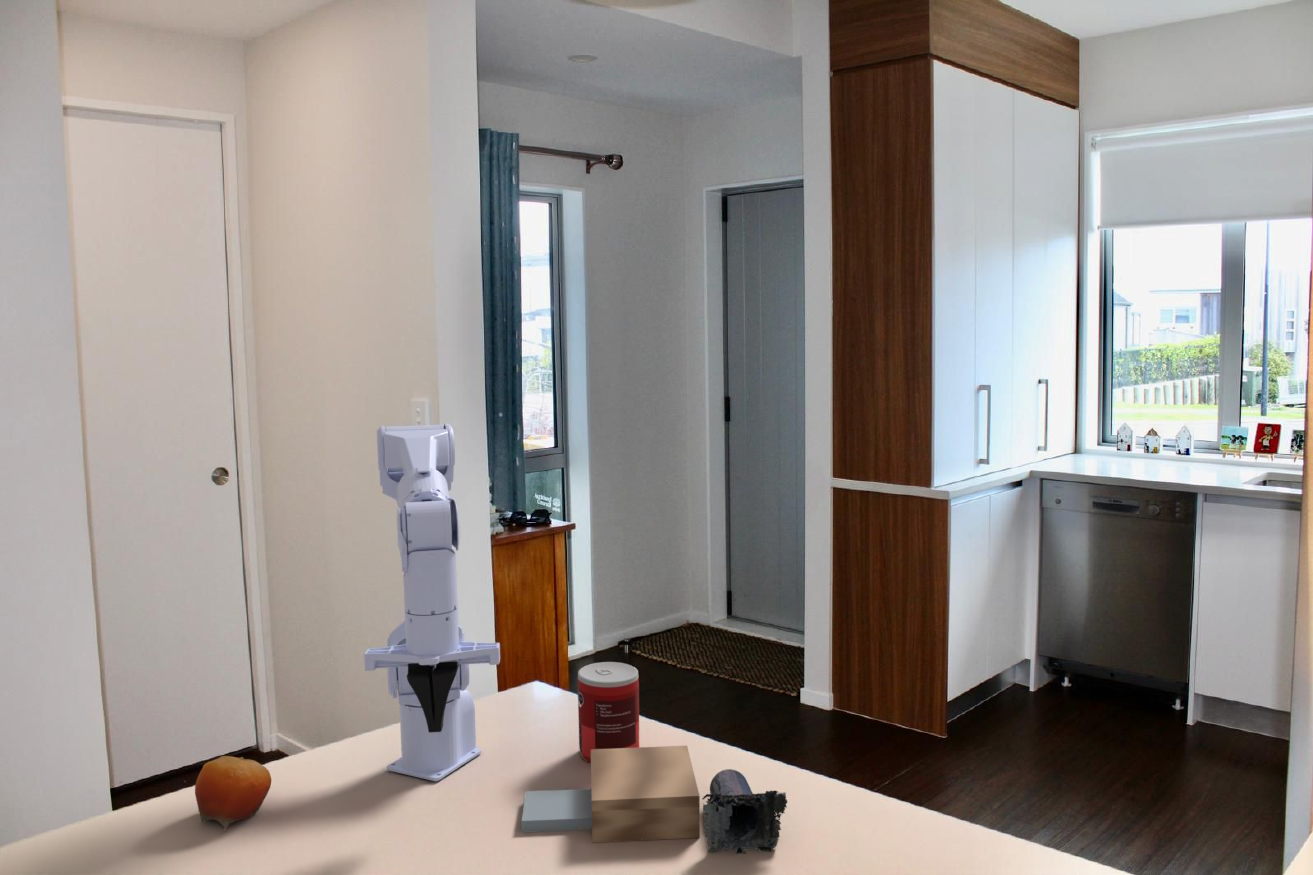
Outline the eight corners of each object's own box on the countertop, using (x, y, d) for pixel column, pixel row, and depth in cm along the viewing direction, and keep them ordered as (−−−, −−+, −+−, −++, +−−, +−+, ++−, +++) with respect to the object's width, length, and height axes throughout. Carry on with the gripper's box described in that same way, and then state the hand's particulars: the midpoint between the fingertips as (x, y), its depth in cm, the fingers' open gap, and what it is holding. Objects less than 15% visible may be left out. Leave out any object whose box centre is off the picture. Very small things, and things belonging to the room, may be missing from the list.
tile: (521, 836, 110) (521, 820, 110) (526, 806, 117) (526, 791, 117) (641, 831, 111) (640, 816, 110) (638, 802, 118) (638, 787, 117)
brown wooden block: (592, 842, 107) (591, 800, 107) (591, 787, 120) (590, 749, 120) (699, 837, 108) (699, 795, 108) (687, 783, 121) (687, 745, 120)
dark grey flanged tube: (777, 866, 105) (752, 816, 117) (790, 794, 105) (764, 751, 117) (693, 856, 104) (676, 807, 116) (706, 783, 104) (688, 742, 116)
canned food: (603, 737, 135) (602, 657, 134) (652, 751, 130) (651, 669, 129) (566, 757, 129) (564, 674, 127) (615, 773, 124) (614, 686, 123)
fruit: (164, 821, 110) (190, 746, 113) (213, 828, 117) (236, 757, 120) (223, 833, 107) (247, 756, 110) (270, 839, 114) (291, 766, 117)
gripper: (356, 621, 106) (362, 746, 107) (495, 615, 108) (499, 739, 109) (369, 604, 113) (374, 722, 114) (499, 599, 115) (503, 715, 116)
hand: (436, 729), depth 112 cm, fingers closed
